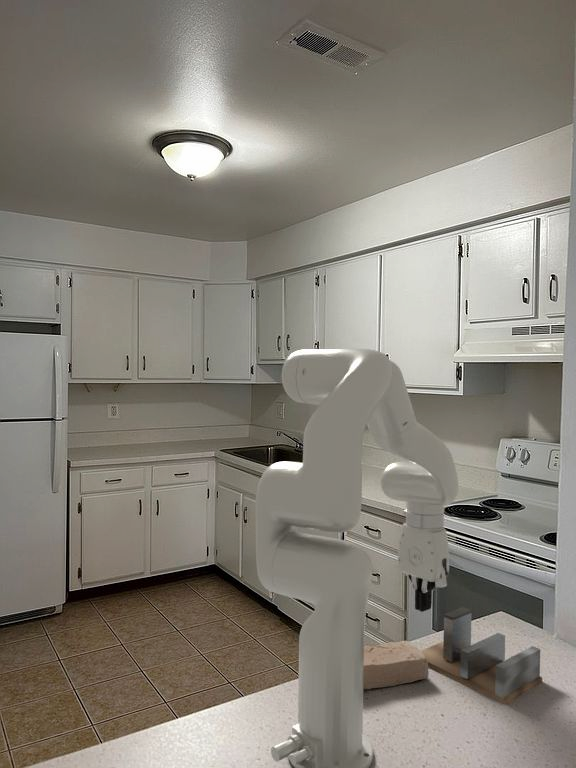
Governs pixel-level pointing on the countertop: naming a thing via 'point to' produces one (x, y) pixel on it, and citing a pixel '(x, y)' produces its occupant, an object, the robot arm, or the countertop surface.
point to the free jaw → (461, 648)
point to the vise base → (493, 673)
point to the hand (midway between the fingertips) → (423, 608)
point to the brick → (393, 664)
